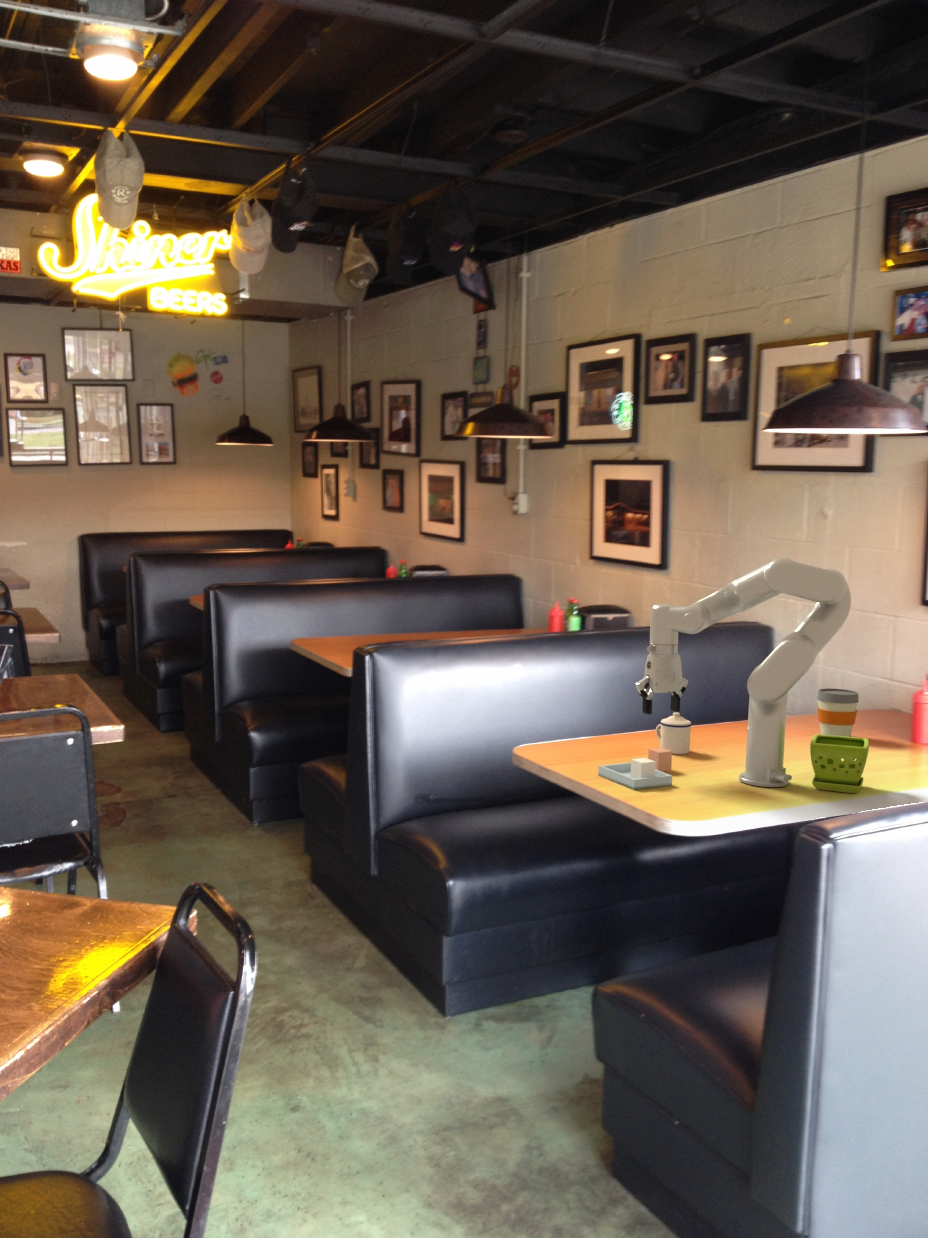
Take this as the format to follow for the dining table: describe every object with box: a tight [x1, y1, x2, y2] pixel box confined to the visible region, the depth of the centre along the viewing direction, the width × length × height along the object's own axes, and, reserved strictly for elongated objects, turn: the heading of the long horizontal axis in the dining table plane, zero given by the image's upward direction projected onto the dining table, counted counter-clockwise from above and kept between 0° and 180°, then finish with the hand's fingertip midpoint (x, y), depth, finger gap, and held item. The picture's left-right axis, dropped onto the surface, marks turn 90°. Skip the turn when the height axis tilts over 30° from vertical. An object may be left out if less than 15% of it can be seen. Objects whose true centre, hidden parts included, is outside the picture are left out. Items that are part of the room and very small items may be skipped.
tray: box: [597, 761, 673, 791], centre depth 267 cm, size 16×12×3 cm
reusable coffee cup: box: [816, 687, 860, 737], centre depth 328 cm, size 13×13×15 cm
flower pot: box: [809, 733, 870, 794], centre depth 264 cm, size 14×14×13 cm
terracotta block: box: [647, 747, 673, 773], centre depth 280 cm, size 4×4×6 cm
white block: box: [630, 757, 656, 779], centre depth 264 cm, size 4×4×6 cm
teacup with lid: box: [655, 711, 692, 756], centre depth 303 cm, size 12×9×12 cm
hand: (661, 712), depth 277 cm, fingers open, 9 cm apart
